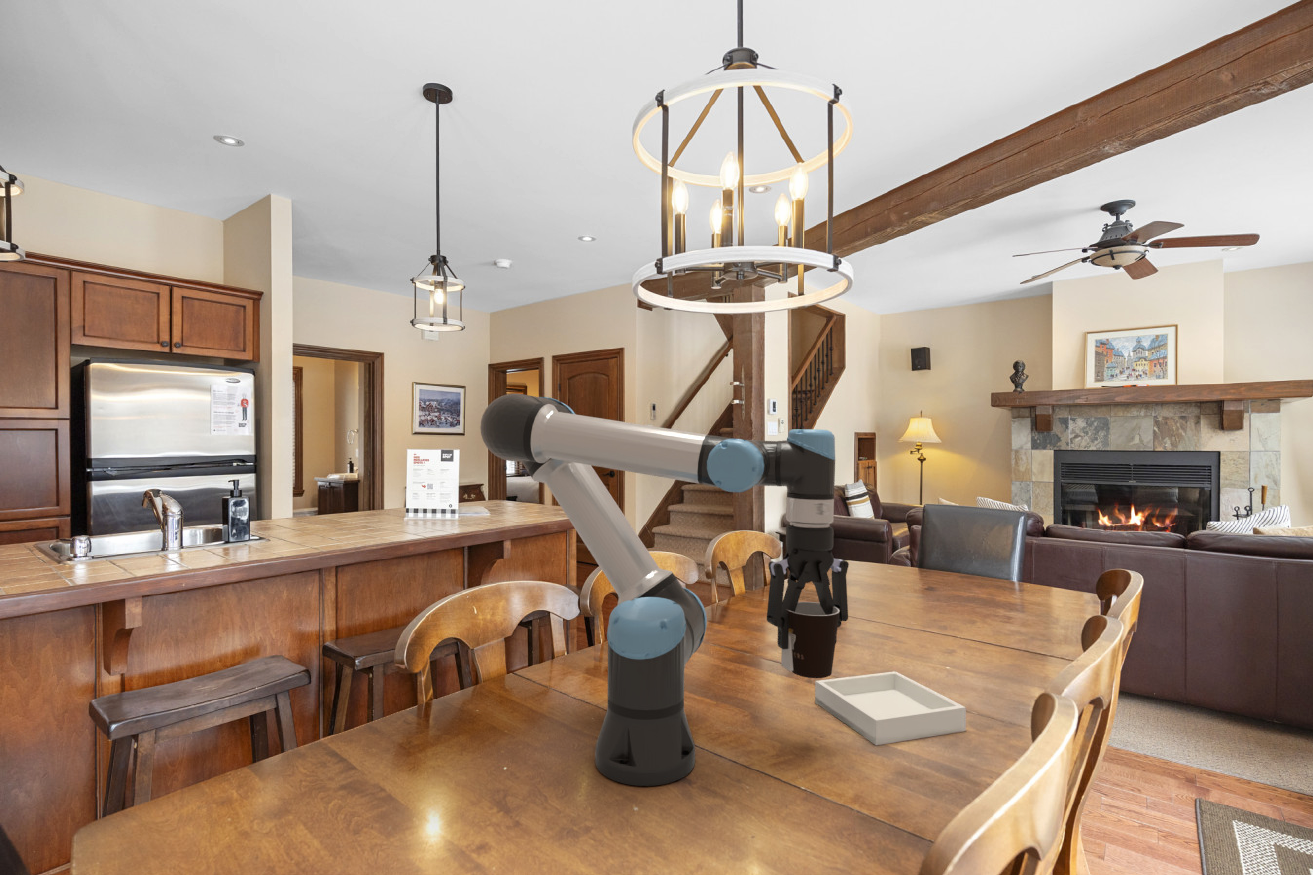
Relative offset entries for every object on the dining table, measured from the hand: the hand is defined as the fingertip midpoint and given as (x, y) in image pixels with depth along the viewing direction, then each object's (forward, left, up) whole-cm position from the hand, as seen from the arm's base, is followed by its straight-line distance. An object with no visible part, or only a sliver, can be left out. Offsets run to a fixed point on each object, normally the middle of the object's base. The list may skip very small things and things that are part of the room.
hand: (806, 666), depth 105 cm
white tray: (+19, +5, -12) cm, 23 cm away
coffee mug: (+1, 0, -1) cm, 1 cm away
